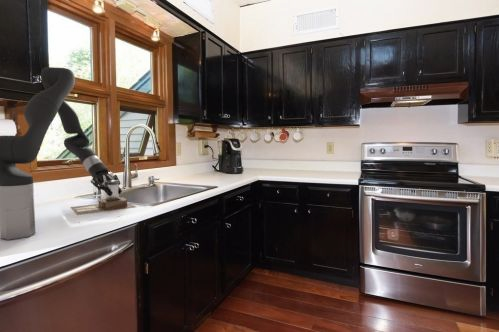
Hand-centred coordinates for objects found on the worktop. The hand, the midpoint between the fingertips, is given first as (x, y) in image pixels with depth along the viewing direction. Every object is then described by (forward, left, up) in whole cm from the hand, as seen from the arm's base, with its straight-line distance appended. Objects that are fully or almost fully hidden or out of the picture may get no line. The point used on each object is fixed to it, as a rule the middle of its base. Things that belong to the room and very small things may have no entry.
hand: (115, 193), depth 133 cm
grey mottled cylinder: (+2, +1, -6) cm, 6 cm away
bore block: (+2, +5, -7) cm, 9 cm away
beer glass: (+25, -2, -8) cm, 26 cm away
